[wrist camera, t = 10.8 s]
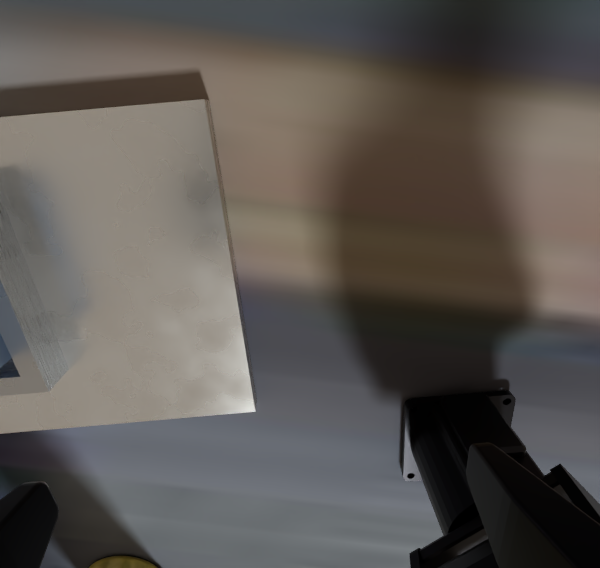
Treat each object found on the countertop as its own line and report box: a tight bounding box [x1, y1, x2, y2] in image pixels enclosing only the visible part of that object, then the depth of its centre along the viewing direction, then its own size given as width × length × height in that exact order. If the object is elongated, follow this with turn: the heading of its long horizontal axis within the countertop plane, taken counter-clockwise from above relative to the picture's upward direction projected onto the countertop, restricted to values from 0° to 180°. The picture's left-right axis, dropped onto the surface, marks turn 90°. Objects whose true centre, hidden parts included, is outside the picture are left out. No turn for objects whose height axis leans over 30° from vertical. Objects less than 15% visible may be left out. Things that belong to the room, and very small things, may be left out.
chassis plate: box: [0, 99, 257, 434], centre depth 18 cm, size 16×20×3 cm
